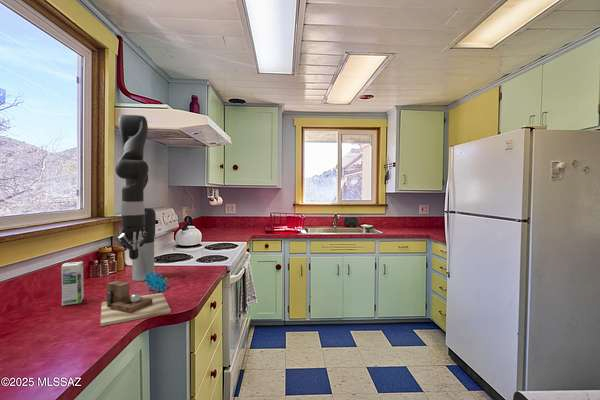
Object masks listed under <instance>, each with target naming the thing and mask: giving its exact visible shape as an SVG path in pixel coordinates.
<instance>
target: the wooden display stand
mask: <svg viewBox="0 0 600 400" xmlns="http://www.w3.org/2000/svg"><path fill="white" fill-rule="evenodd" d="M109 291H112V304H111V310H116V311H121V312H126V313H133V312H135V311H137V310H139V309H142V308H144V307H146V306H149V305H151V304H152V299H150V298H144V297H140V301H139V302H137V303H134V304H132V305H130V282H126V281H120V280H119V281H118V280H114V281H110V282H107V283H106V293H107V292H109Z"/></svg>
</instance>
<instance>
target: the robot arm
mask: <svg viewBox="0 0 600 400" xmlns="http://www.w3.org/2000/svg"><path fill="white" fill-rule="evenodd" d="M148 127H149V126H148V119H147V118H146V117H145V116H144V115H136V114H120V115H119V116H118V130H119V135H120V141H121V142H120V143H121V148H122V155H121V156H120V158H119V159H118V160H117V162H116V164H115V173H116V175H117V176H118V177H119V178H120V179H123V180H124V179H125V185H124V186H123V187H122V188H121V211H120V212H121V226H122V231H121V234H120V235H119V236H117V237H116V240H117V242H118V243H119V244H120V245H121V246H122V248H123V249H126V250H128V255H129V259H130V260H131V261H132V262H131V263H132V264H131V265H132V267H131V270H132V275H131V277H132V278H131V280H132V281H134V282H135V281H136V282H143V281H145V280H144V279H145V278H146V276H145V275H146V274H149V273H150V272H153V276H154V274H155V236H156V223H157V222H156V221H157V214H156V211H155V209H153V208H149V207H148V208H145V203H144V201H145V200H144V197H145V196H144V190H145V188H146V186H147V185H148V182H149V170H150V169H149V165H148V163H147V162H146V161H144V149H145V144H146V141H147V137H148V134H149V133H148V132H149V128H148ZM150 277H151V276H150ZM145 282H146V281H145Z"/></svg>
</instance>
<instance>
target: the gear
mask: <svg viewBox="0 0 600 400" xmlns="http://www.w3.org/2000/svg"><path fill="white" fill-rule="evenodd" d="M158 275H159V273H158V272H156V271H154V276H153V272H150V273H149V274H146V275H145V276H146V278H145V279H144V280H145V286H149V287H148V288H147V291H152V290H153V289H154V290H153V291H154V292H155V293H158V292H159V293H163V292H164V291H166V290H167V286H168V283H167V280H168V278H167V277H164V276H163V275H162V274H160V275H159V276H158ZM150 276H151V277H150ZM163 277H164V278H163Z"/></svg>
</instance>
